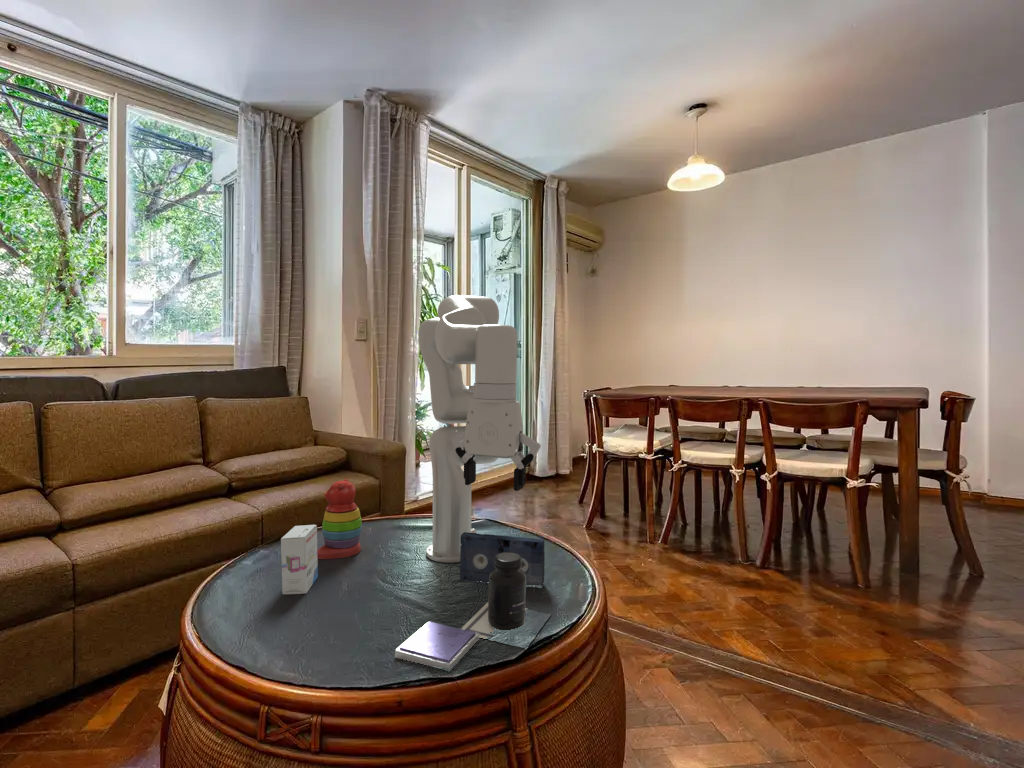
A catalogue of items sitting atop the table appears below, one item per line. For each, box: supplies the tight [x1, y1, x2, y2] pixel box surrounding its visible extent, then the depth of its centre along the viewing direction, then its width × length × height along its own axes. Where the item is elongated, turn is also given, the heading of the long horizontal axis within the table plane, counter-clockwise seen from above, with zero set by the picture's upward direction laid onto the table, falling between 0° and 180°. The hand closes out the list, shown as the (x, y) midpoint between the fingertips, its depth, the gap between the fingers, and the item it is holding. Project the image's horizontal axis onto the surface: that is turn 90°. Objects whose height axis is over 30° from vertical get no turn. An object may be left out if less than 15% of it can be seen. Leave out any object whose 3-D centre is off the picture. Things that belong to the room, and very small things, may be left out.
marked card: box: [460, 602, 494, 640], centre depth 92 cm, size 13×13×1 cm
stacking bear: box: [317, 478, 363, 560], centre depth 127 cm, size 11×10×18 cm
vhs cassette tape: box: [459, 532, 546, 586], centre depth 110 cm, size 18×3×10 cm, turn 76°
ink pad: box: [394, 621, 480, 669], centre depth 84 cm, size 10×10×2 cm
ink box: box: [280, 524, 319, 595], centre depth 107 cm, size 9×5×12 cm, turn 5°
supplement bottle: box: [487, 552, 527, 630], centre depth 92 cm, size 7×7×12 cm
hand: (494, 486), depth 93 cm, fingers open, 9 cm apart
